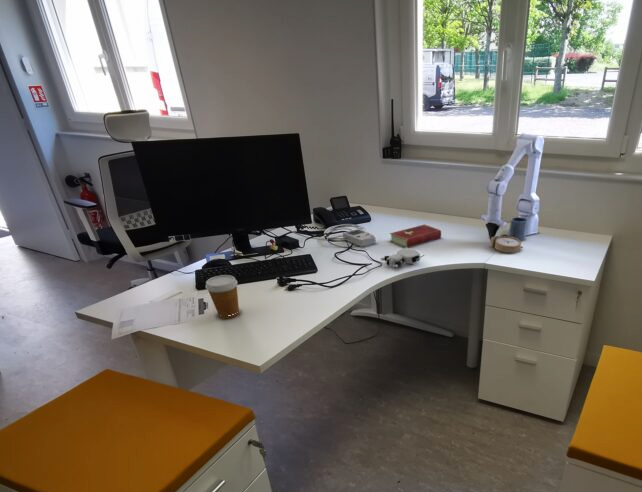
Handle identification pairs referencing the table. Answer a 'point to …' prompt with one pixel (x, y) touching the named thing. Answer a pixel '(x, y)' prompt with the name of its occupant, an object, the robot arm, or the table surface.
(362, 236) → the handheld gaming device
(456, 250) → the table surface
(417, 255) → the robot toy
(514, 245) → the alarm clock
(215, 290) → the disposable coffee cup
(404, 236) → the hardcover book
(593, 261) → the table surface
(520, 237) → the pen pot
